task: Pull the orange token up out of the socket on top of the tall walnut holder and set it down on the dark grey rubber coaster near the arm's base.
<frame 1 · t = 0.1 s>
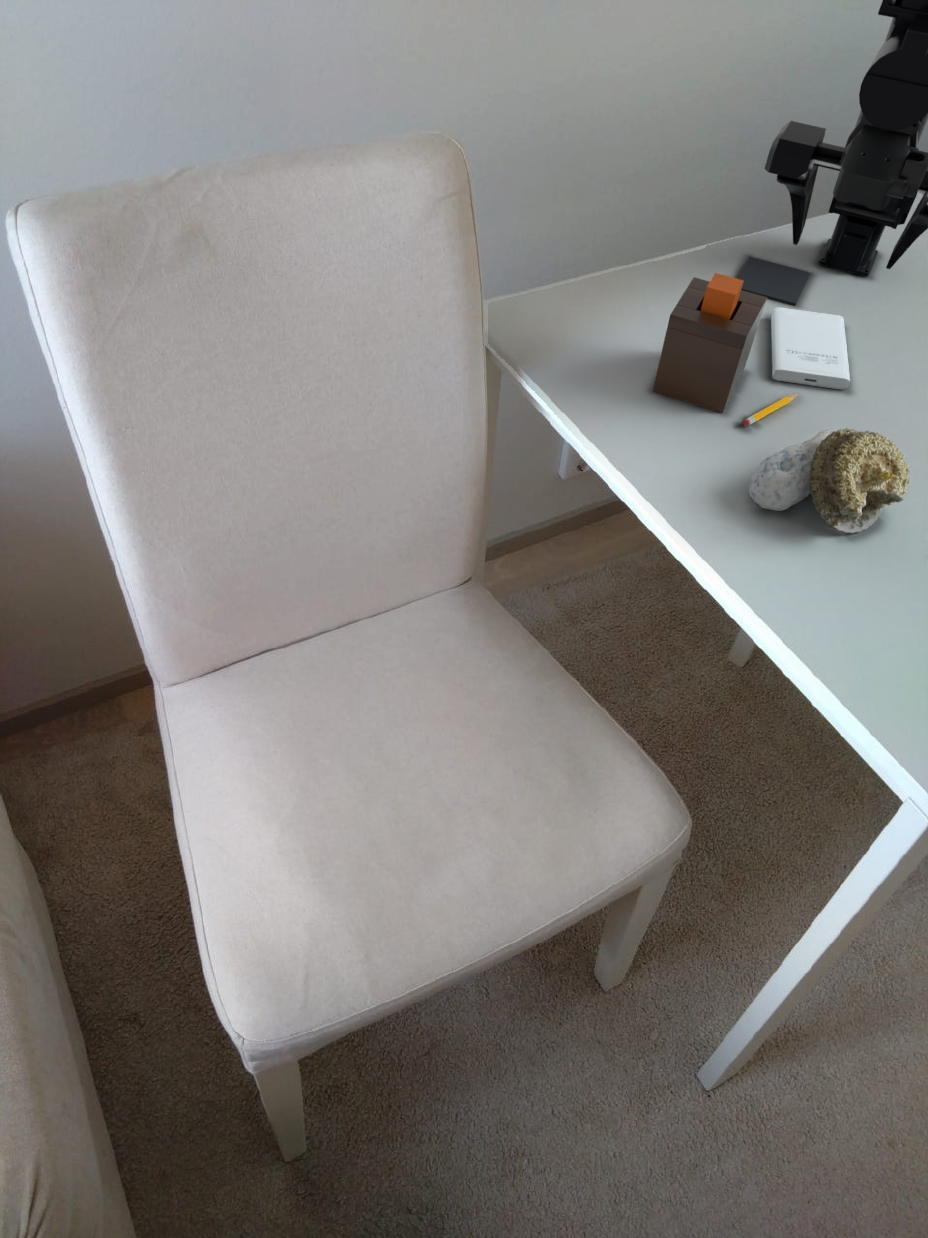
hand: (841, 254, 91), 15 cm above the table, tool pointing down, fingers open, 9 cm apart
pencil: (770, 412, 98), on the table
token: (715, 318, 95), point 8 cm above the table, touching holder
decorative stone: (849, 506, 90), on the table, touching coral piece
coaster: (771, 281, 115), on the table
holder: (698, 381, 101), on the table
hard drive: (806, 354, 105), on the table
coral piece: (843, 482, 87), point 3 cm above the table, touching decorative stone
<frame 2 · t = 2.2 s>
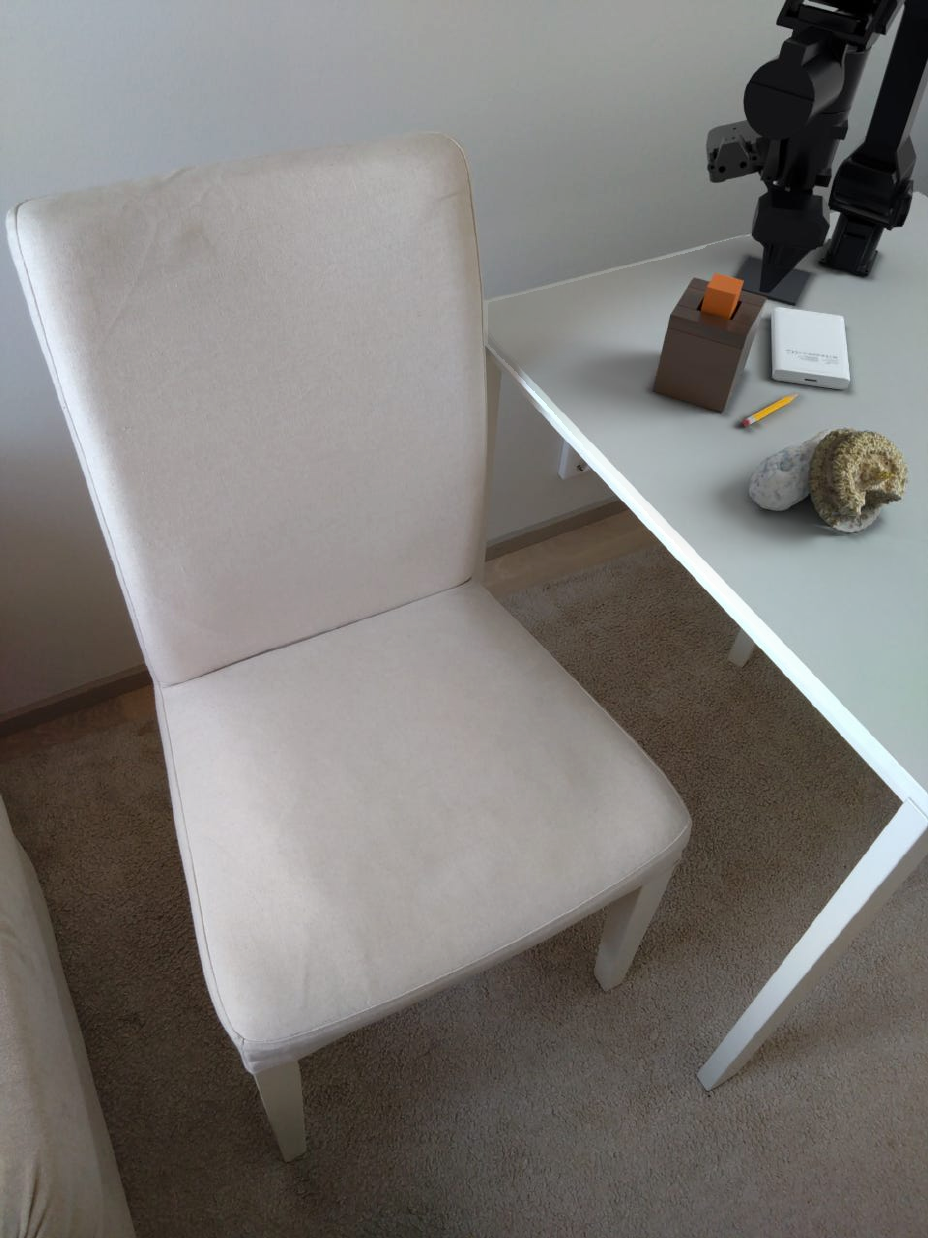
hand: (766, 267, 91), 14 cm above the table, tool pointing down, fingers open, 9 cm apart
nothing on the table moved.
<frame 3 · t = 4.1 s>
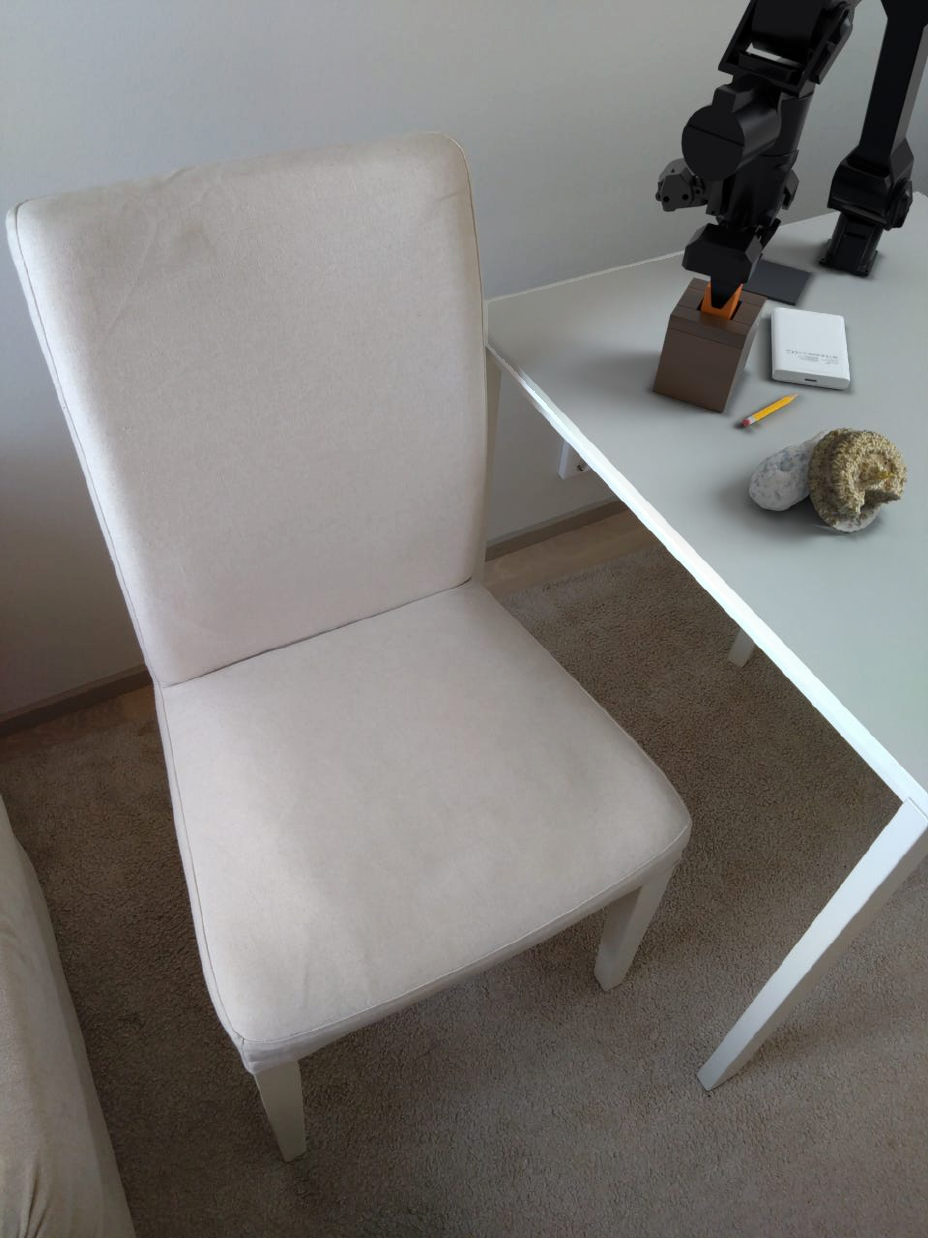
hand: (721, 299, 93), 10 cm above the table, tool pointing down, fingers closed on token, 3 cm apart
token: (715, 318, 95), point 8 cm above the table, touching gripper, holder
everything else where it was.
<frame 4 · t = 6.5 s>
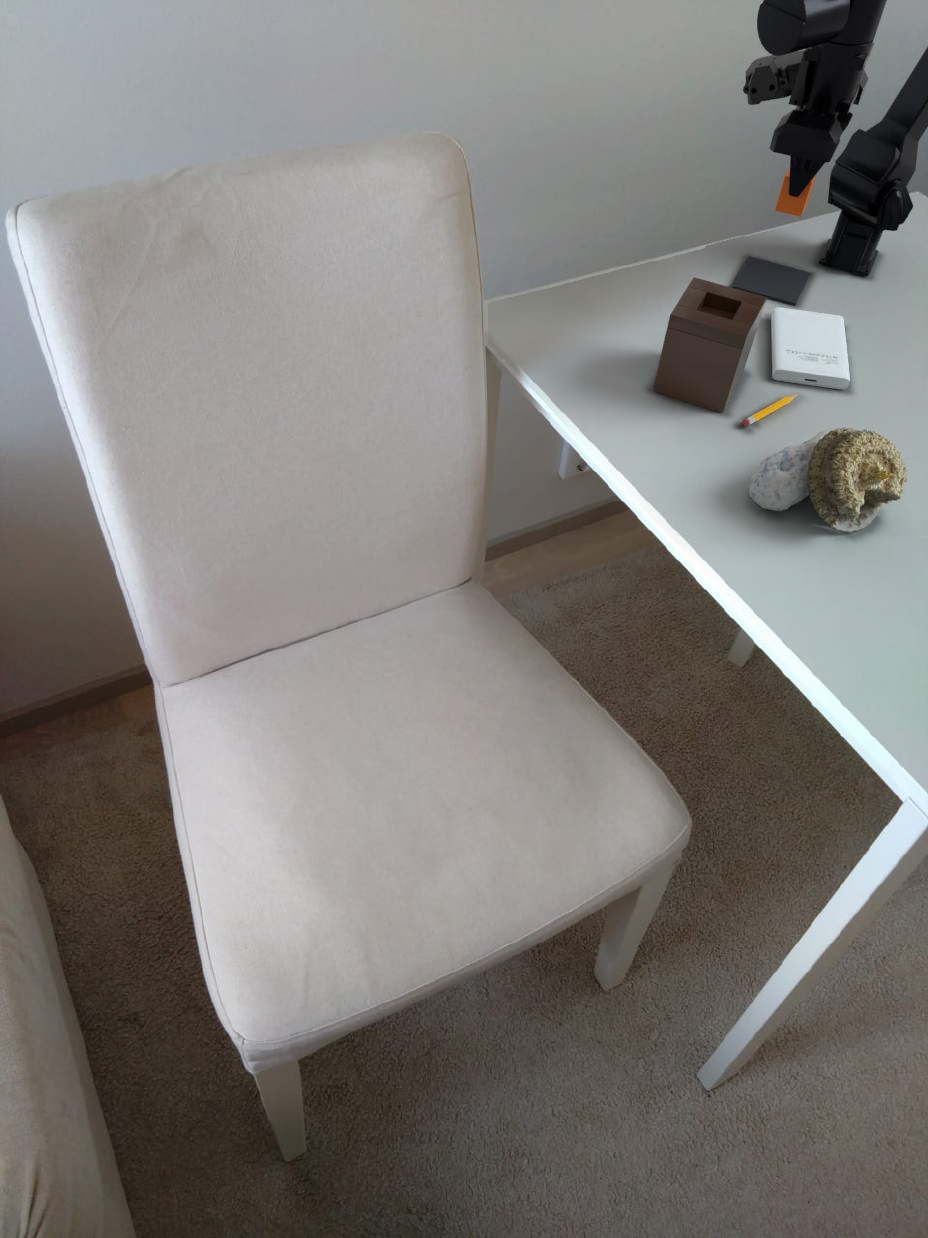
hand: (796, 189, 103), 13 cm above the table, tool pointing down, fingers closed on token, 3 cm apart
token: (790, 207, 105), point 11 cm above the table, touching gripper
everything else where it was.
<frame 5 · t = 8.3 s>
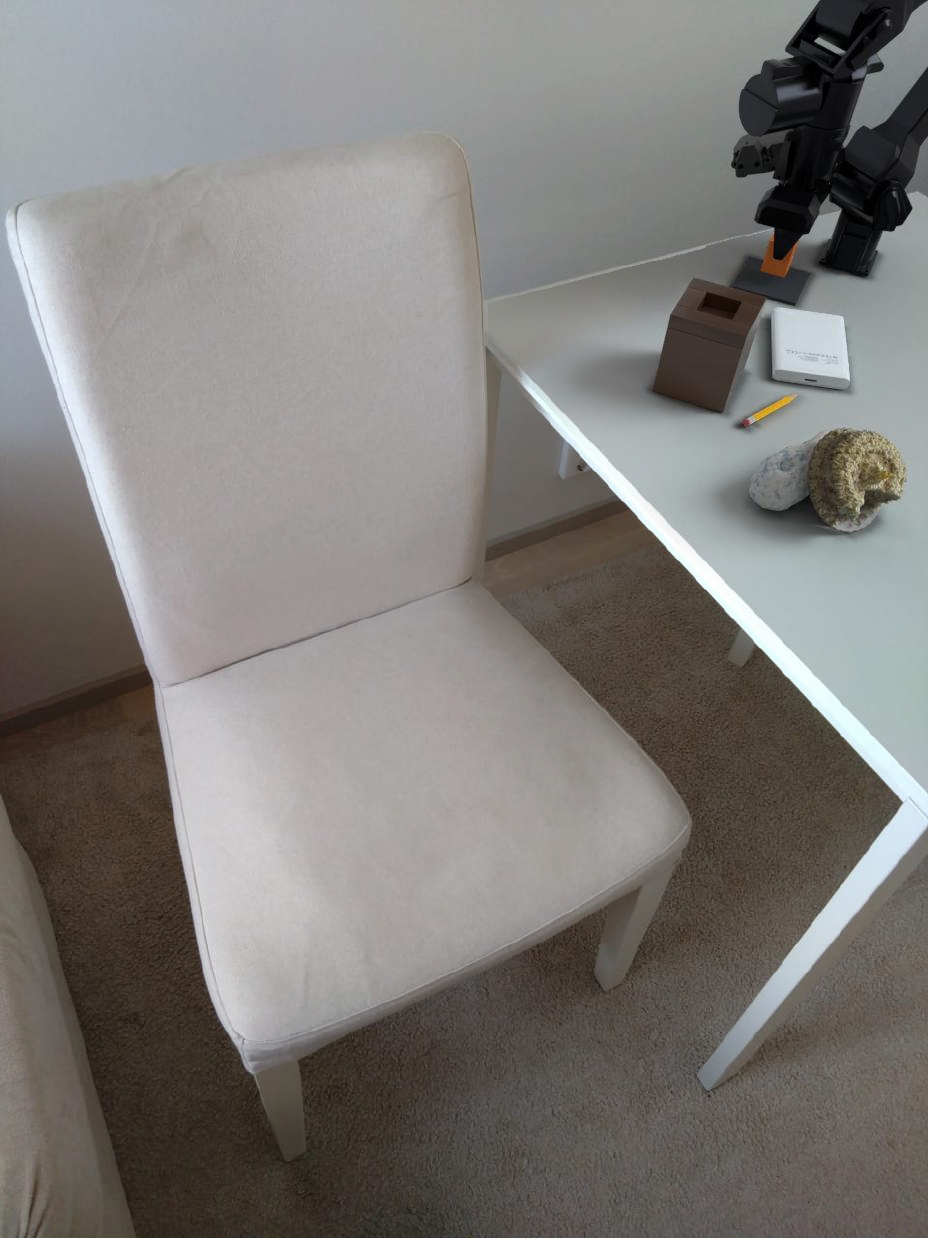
hand: (780, 252, 112), 4 cm above the table, tool pointing down, fingers closed on token, 3 cm apart
token: (775, 268, 113), point 2 cm above the table, touching gripper
everything else where it was.
when the fingers open (2 cm above the table, at t = 9.0 s): token stays where it is, resting on coaster.
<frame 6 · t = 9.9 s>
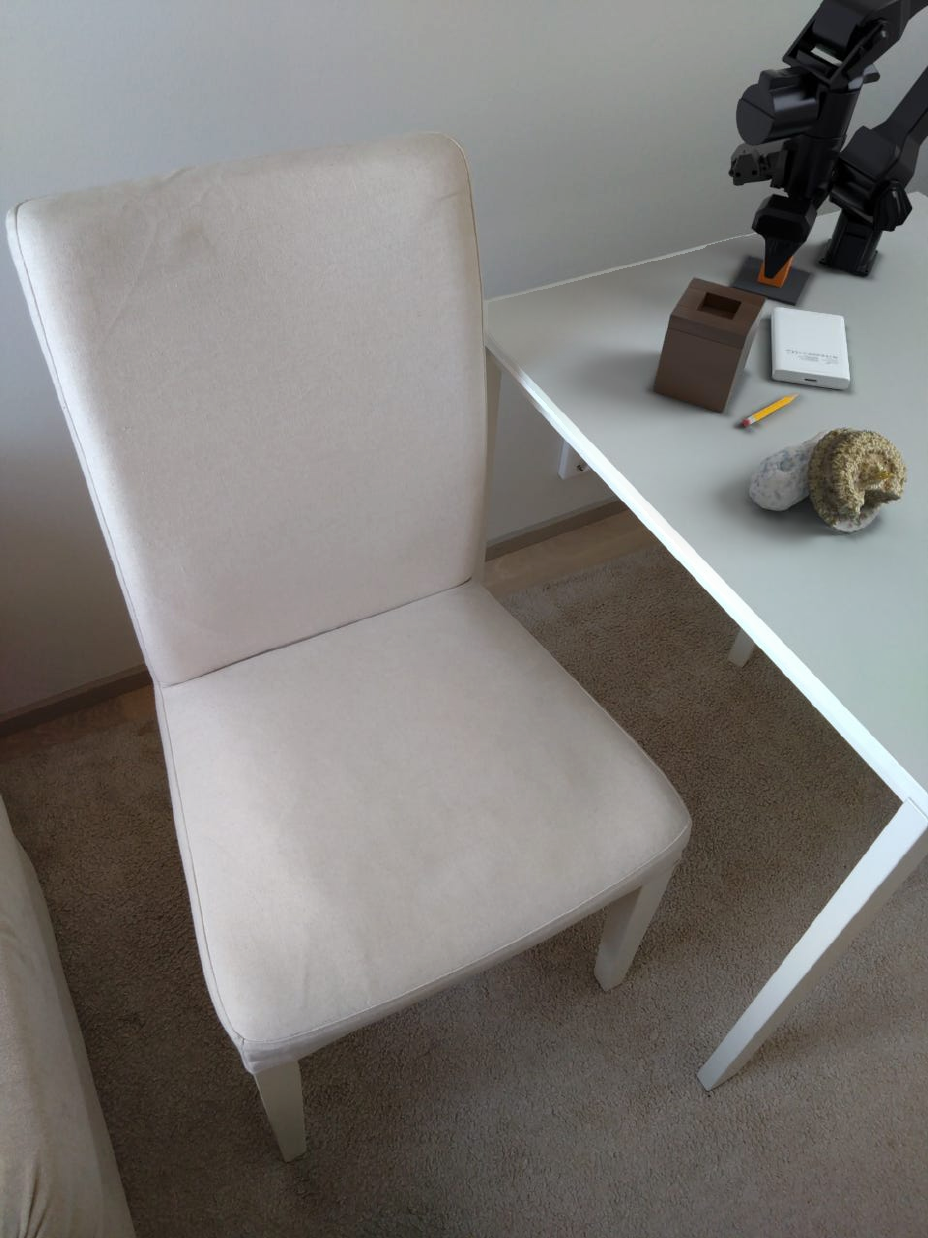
hand: (777, 259, 112), 3 cm above the table, tool pointing down, fingers open, 9 cm apart
token: (771, 278, 114), resting on coaster
everything else where it was.
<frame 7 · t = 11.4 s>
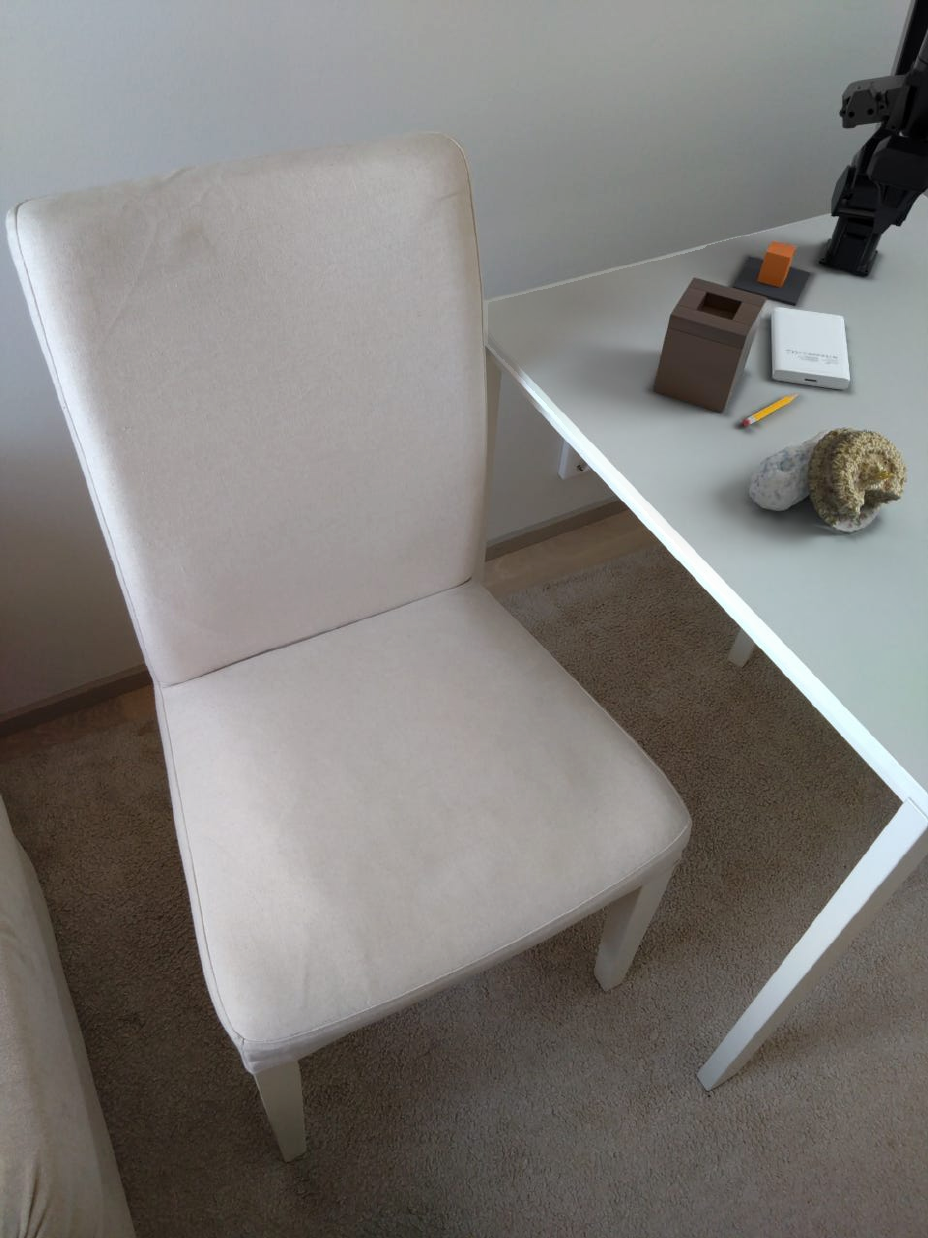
hand: (886, 214, 101), 12 cm above the table, tool pointing down, fingers open, 9 cm apart
nothing on the table moved.
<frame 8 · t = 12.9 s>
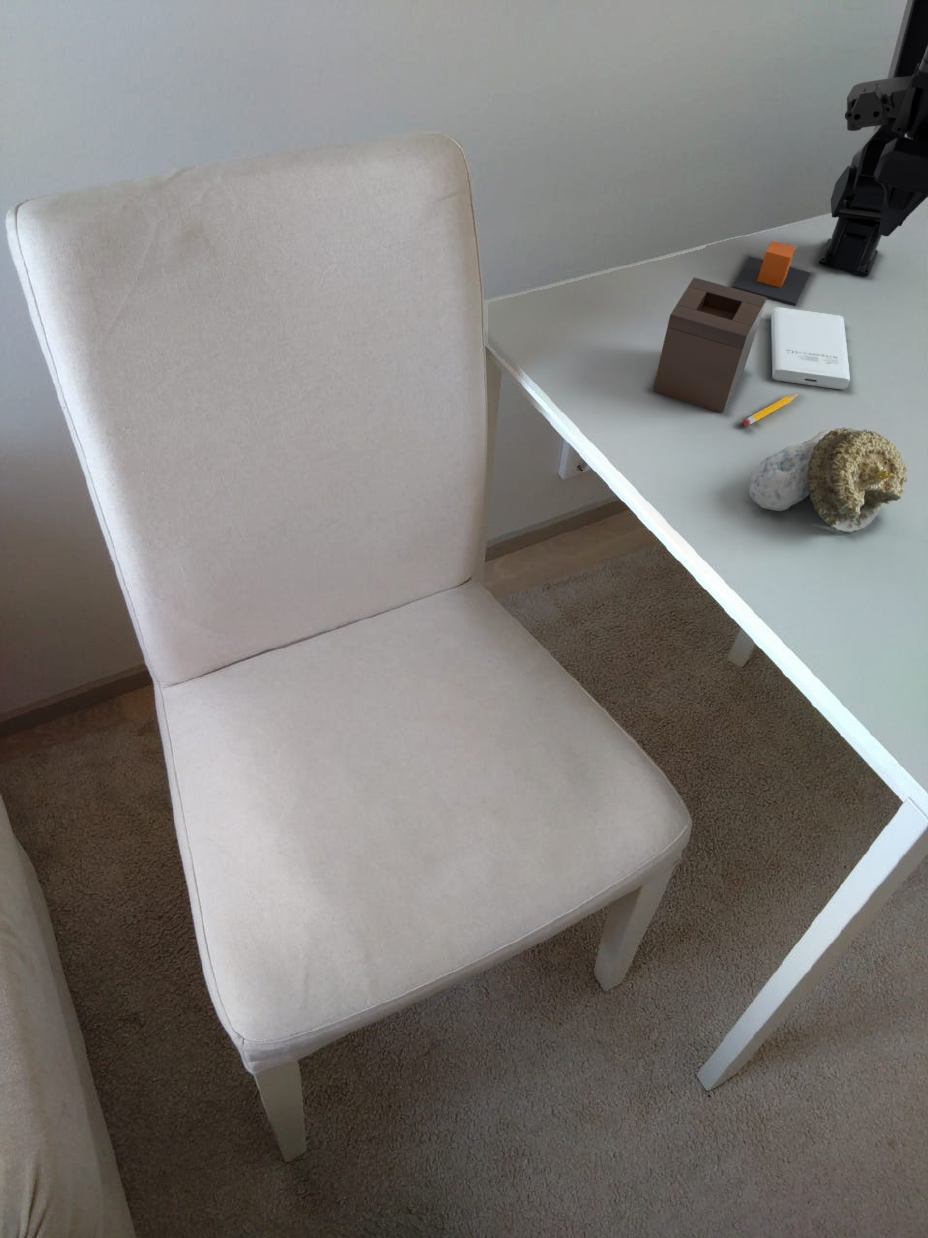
hand: (890, 216, 101), 12 cm above the table, tool pointing down, fingers open, 9 cm apart
nothing on the table moved.
at the end: token 0.0 cm off-centre on the coaster, point 0.3 cm above the coaster's base; token tilted 0°; the gripper is holding nothing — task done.
